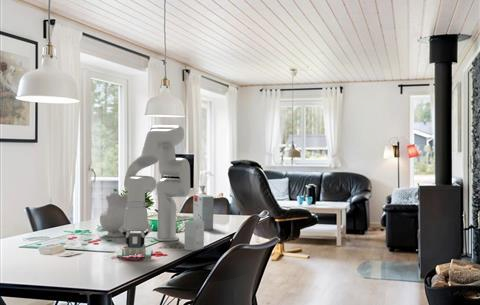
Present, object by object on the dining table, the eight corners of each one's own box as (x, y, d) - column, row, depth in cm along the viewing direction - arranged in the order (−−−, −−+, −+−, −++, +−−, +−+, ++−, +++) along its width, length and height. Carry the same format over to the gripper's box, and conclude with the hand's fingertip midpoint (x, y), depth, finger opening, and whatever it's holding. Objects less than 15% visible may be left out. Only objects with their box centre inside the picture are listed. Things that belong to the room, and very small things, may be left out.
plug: (130, 248, 227) (130, 232, 227) (141, 248, 228) (141, 232, 228) (128, 250, 222) (129, 234, 222) (140, 250, 223) (140, 234, 223)
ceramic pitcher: (93, 235, 281) (91, 190, 280) (126, 230, 293) (124, 186, 291) (109, 241, 264) (106, 193, 262) (143, 235, 275) (141, 189, 274)
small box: (192, 246, 247) (193, 219, 247) (204, 248, 244) (204, 220, 244) (183, 249, 240) (184, 221, 240) (195, 250, 237) (196, 222, 237)
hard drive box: (192, 226, 314) (193, 194, 314) (204, 226, 317) (204, 194, 317) (201, 230, 300) (202, 196, 300) (213, 229, 303) (214, 196, 303)
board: (121, 251, 232) (121, 243, 232) (152, 251, 233) (152, 243, 233) (116, 258, 218) (116, 249, 218) (150, 257, 219) (150, 249, 219)
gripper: (156, 204, 230) (155, 244, 230) (117, 204, 228) (116, 244, 228) (155, 206, 223) (154, 248, 223) (115, 205, 221) (114, 248, 221)
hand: (135, 245), depth 225 cm, fingers closed on plug, 5 cm apart
